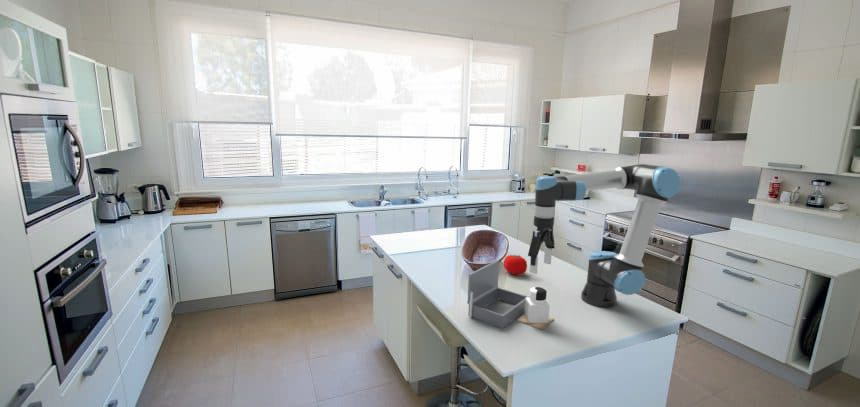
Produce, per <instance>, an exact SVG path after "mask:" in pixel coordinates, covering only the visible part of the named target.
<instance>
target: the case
mask: <svg viewBox="0 0 860 407" xmlns="http://www.w3.org/2000/svg"><path fill="white" fill-rule="evenodd" d="M499 270H500V260H499V259H496V260H495V261H493V262H490V263H488V264H487V265H484V266H483V267H481V268H479V269H476V270H475V271H472V272H470V273H469V274H468V285H467V286H468V287H467V302H466V303H467V305H468V316H469V318H470V319H471V318H474V319H477V320H479V321H481V322H484V323H487V324H491V325H493V326H496V327H499V328H500V329H504V328H505V327H506V326H508V325H509V324H510V323H511V322H513V321H514V320H515V319H516V318H519V316H520V315H523V314H524V312H525V299H526V297H529V296H528V295H524V294H522V293H518V292H515V291H512V290H509V289H505V288H501V287H499V274H500V273H499V272H500V271H499ZM496 300H501V301H504V302H508V303H509V304H513V305H514V306H513V307H511V308H509V309H508V310H507V311H505V312H504V313H503V314H500V313H498V312H495V311H492V310H490V309H487V308H486V307H487V306H489V305H490V304H491V303H493V302H495V301H496Z"/></svg>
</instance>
